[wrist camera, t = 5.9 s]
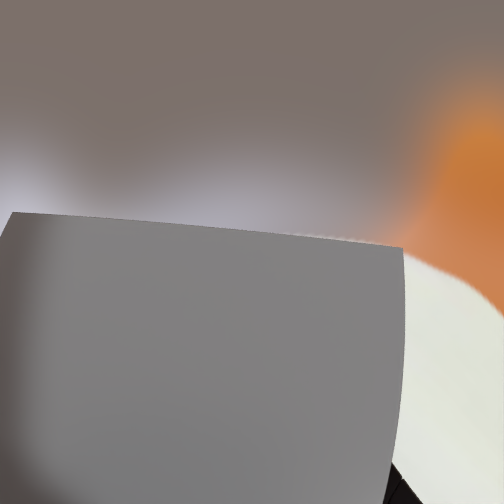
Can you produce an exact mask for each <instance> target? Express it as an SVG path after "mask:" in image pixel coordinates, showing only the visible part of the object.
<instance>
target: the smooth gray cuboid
mask: <svg viewBox="0 0 504 504" xmlns="http://www.w3.org/2000/svg"><path fill="white" fill-rule="evenodd" d="M404 345H405V279H404V259H403V248H399V247H390V246H383V245H374V244H366V243H358V242H349V241H340V240H331V239H323V238H314V237H304V236H295V235H286V234H276V233H266V232H256V231H247V230H236V229H226V228H215V227H204V226H194V225H183V224H171V223H160V222H147V221H135V220H123V219H110V218H96V217H83V216H67V215H52V214H36V213H20V212H13V213H12V214H11V216H10V218H9V220H8V222H7V225H6V226H5V228H4V231H3V233H2V235H1V237H0V504H382V503H383V499H384V495H385V491H386V486H387V482H388V477H389V473H390V468H391V462H392V457H393V451H394V446H395V439H396V433H397V426H398V418H399V410H400V401H401V391H402V380H403V365H404Z"/></svg>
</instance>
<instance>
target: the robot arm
mask: <svg viewBox="0 0 504 504" xmlns="http://www.w3.org/2000/svg"><path fill="white" fill-rule="evenodd" d="M382 504H423V503H422V502H421V501H420V499H419V498H418V497H417V496H416V494H415V493H414V492H413V490H412V489H411V488H410V487H409V485H408V484H407V482H406V481H405V480H404V479H402V476H401V474H400V473H399V471H398V470H397V469H396V467H395V466H394V464H393V463H392V462H391V468H390V473H389V477H388V482H387V486H386V491H385V495H384V499H383V503H382Z"/></svg>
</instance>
